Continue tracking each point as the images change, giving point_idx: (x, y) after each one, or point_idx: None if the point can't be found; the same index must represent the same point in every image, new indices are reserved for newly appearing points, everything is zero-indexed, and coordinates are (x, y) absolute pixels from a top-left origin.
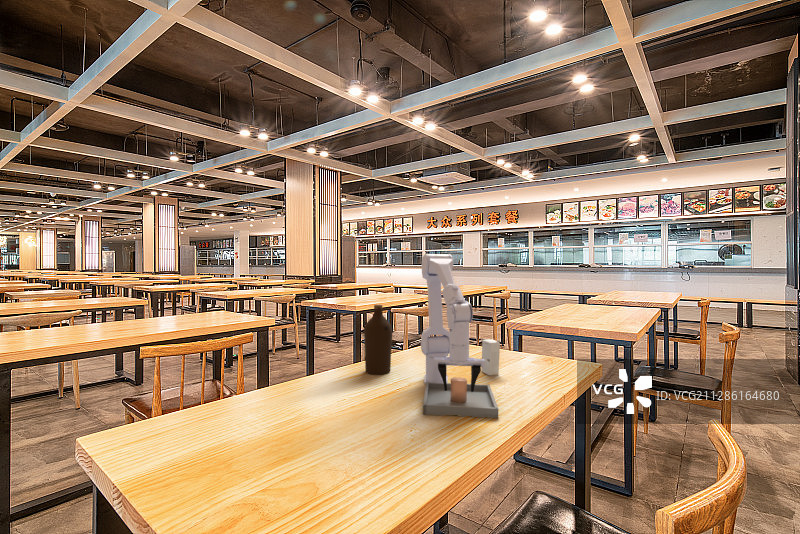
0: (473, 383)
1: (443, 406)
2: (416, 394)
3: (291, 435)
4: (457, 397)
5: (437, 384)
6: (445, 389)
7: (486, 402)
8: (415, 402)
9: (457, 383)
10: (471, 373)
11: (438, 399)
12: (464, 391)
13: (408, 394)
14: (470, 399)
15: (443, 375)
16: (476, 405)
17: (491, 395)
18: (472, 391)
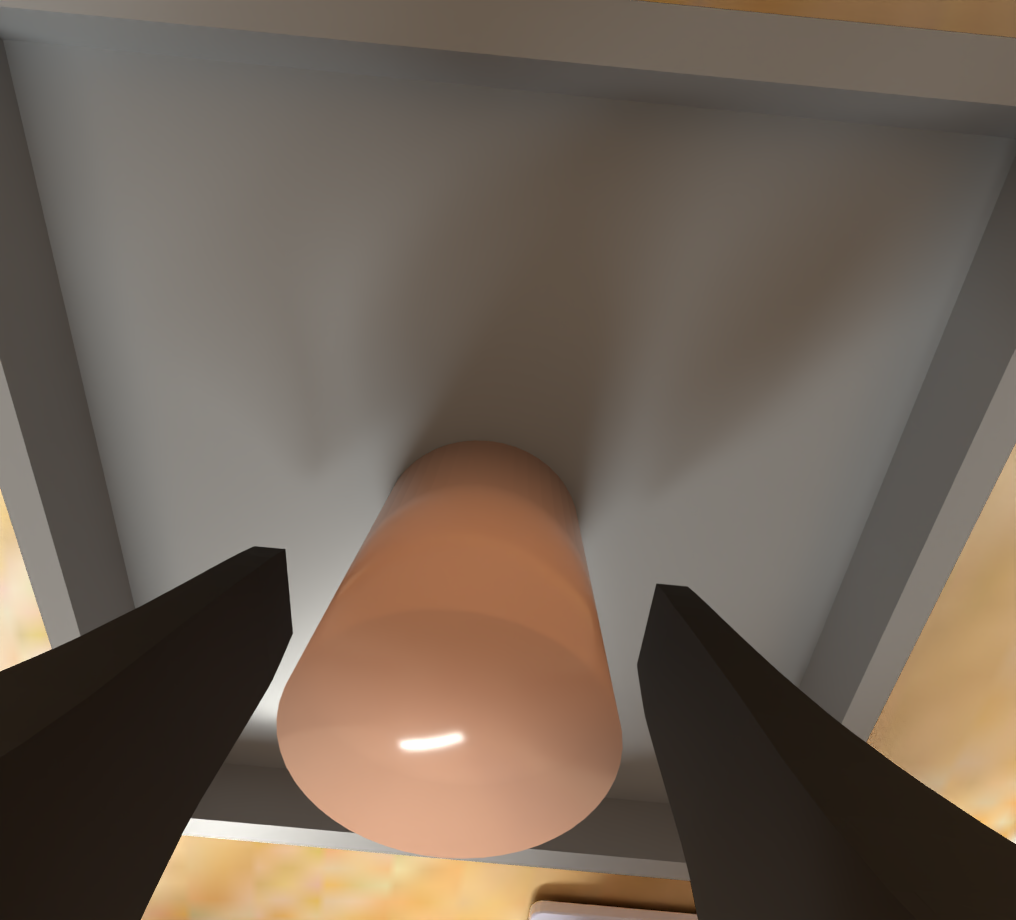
0: (156, 615)
1: (829, 22)
2: (887, 715)
3: None
4: (506, 472)
5: (671, 850)
6: (686, 593)
7: (155, 465)
8: (980, 519)
9: (498, 597)
10: (108, 916)
11: (721, 544)
12: (386, 527)
13: (972, 715)
14: (342, 548)
15: (899, 809)
16: (274, 364)
17: (40, 536)
18: (263, 550)
